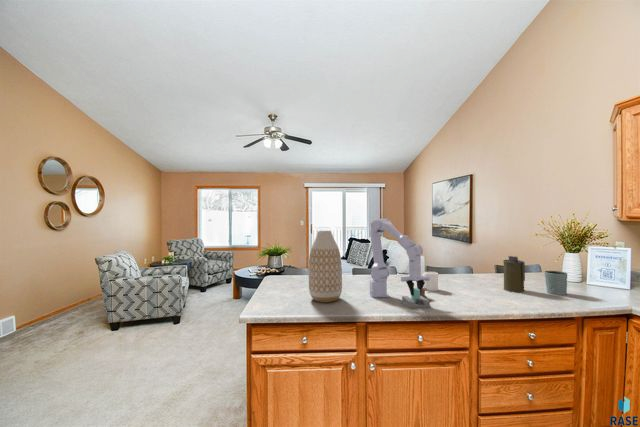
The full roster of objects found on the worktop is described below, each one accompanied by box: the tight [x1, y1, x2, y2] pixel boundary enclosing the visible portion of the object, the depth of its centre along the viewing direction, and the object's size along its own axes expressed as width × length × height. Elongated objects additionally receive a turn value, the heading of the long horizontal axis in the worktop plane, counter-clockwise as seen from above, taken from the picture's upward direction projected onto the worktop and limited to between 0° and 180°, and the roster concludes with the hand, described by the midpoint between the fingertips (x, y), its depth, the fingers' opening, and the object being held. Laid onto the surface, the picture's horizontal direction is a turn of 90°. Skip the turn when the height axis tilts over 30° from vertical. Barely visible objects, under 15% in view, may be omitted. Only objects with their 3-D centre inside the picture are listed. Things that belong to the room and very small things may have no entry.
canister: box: [502, 255, 526, 294], centre depth 171 cm, size 11×10×20 cm
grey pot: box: [544, 270, 568, 296], centre depth 164 cm, size 10×10×12 cm
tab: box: [410, 287, 420, 302], centre depth 147 cm, size 3×7×6 cm, turn 5°
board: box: [401, 295, 431, 309], centre depth 148 cm, size 10×10×3 cm
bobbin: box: [420, 287, 428, 300], centre depth 160 cm, size 6×6×5 cm
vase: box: [308, 230, 343, 303], centre depth 160 cm, size 19×18×38 cm
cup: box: [421, 271, 439, 292], centre depth 176 cm, size 8×12×10 cm
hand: (415, 294), depth 148 cm, fingers closed on tab, 3 cm apart
